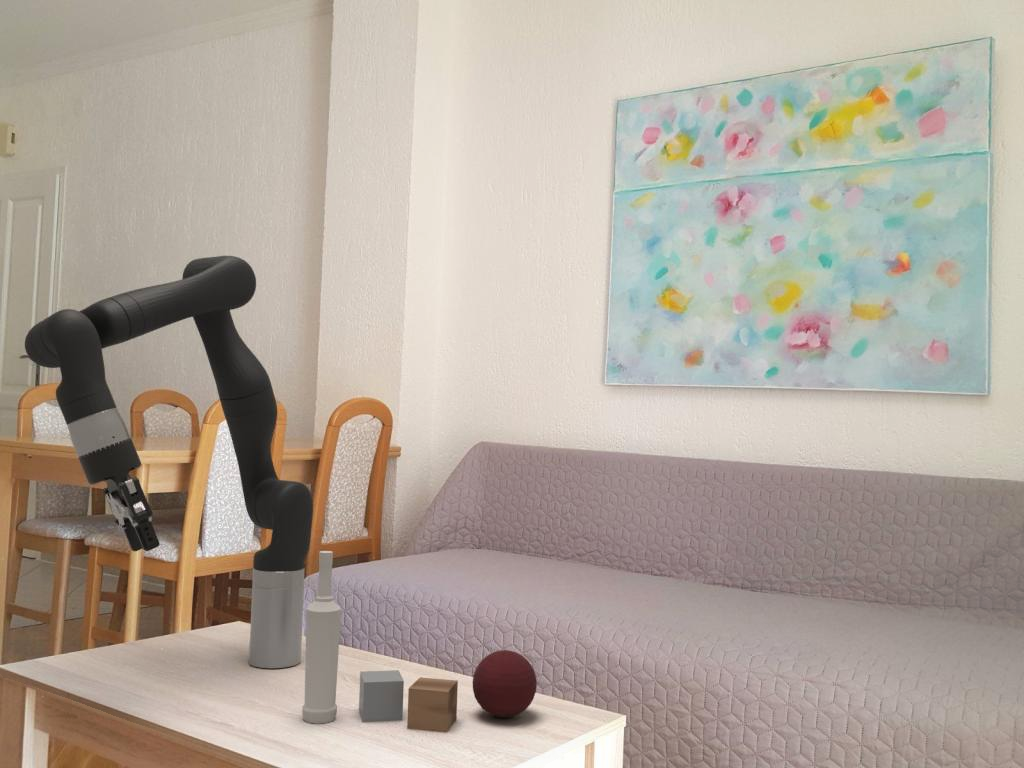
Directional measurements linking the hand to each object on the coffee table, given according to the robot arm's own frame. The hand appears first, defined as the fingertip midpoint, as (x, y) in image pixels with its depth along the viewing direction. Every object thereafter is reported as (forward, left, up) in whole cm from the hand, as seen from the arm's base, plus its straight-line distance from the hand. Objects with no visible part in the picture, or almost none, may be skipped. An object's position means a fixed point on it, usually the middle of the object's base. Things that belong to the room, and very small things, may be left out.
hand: (146, 549), depth 135 cm
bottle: (-4, +25, -26) cm, 36 cm away
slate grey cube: (-6, +34, -25) cm, 43 cm away
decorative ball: (-6, +53, -26) cm, 60 cm away
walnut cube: (-2, +42, -25) cm, 50 cm away
